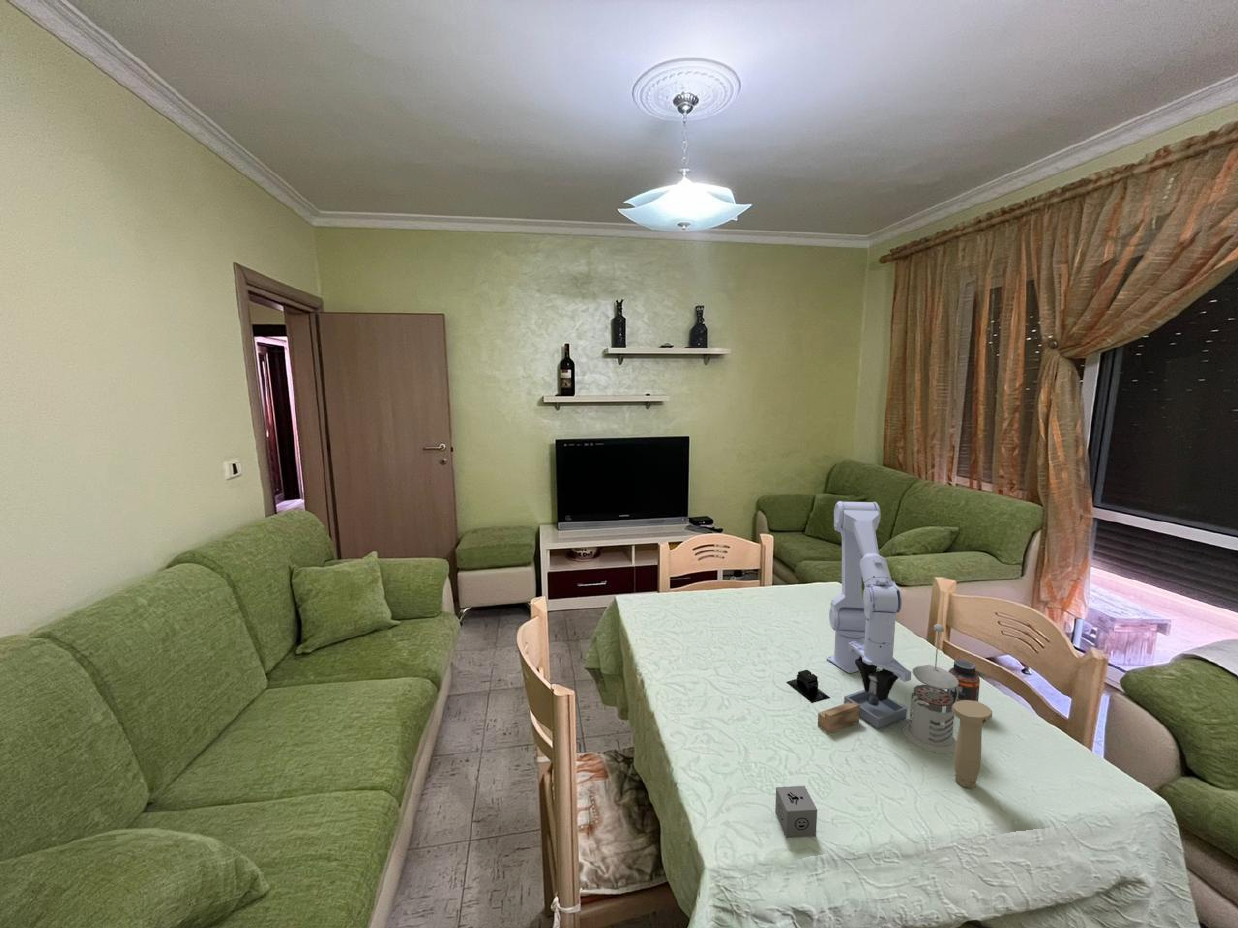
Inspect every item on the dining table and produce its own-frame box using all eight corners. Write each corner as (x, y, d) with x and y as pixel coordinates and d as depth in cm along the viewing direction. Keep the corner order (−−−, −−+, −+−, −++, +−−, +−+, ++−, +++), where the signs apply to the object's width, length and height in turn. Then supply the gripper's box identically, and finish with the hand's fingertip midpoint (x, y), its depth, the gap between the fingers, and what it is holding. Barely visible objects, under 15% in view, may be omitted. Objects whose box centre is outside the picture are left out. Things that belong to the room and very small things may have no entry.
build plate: (837, 703, 118) (838, 684, 117) (812, 710, 115) (813, 692, 115) (800, 675, 129) (801, 658, 129) (777, 681, 127) (778, 664, 126)
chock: (847, 714, 113) (848, 697, 112) (859, 722, 110) (860, 704, 109) (817, 725, 109) (818, 707, 109) (828, 733, 106) (829, 715, 106)
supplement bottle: (972, 704, 116) (976, 659, 114) (981, 720, 110) (985, 672, 108) (942, 699, 118) (946, 654, 116) (949, 715, 112) (953, 668, 110)
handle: (939, 776, 94) (946, 703, 92) (967, 770, 96) (974, 697, 94) (962, 796, 90) (969, 719, 88) (991, 789, 91) (999, 713, 89)
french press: (892, 728, 108) (900, 619, 104) (929, 714, 112) (937, 609, 109) (937, 759, 99) (947, 640, 95) (974, 742, 103) (985, 628, 100)
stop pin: (872, 696, 115) (875, 669, 114) (884, 705, 112) (888, 677, 111) (862, 699, 114) (865, 672, 113) (874, 708, 111) (877, 680, 110)
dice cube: (775, 812, 87) (776, 787, 86) (803, 811, 87) (804, 785, 86) (786, 838, 82) (787, 811, 81) (815, 836, 82) (817, 809, 81)
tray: (871, 696, 119) (872, 686, 119) (906, 718, 111) (907, 708, 111) (843, 706, 116) (844, 696, 115) (877, 730, 107) (878, 719, 107)
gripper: (839, 627, 116) (836, 682, 118) (896, 657, 103) (892, 718, 104) (861, 621, 119) (858, 674, 120) (919, 649, 105) (915, 709, 107)
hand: (875, 694), depth 113 cm, fingers closed on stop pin, 3 cm apart
